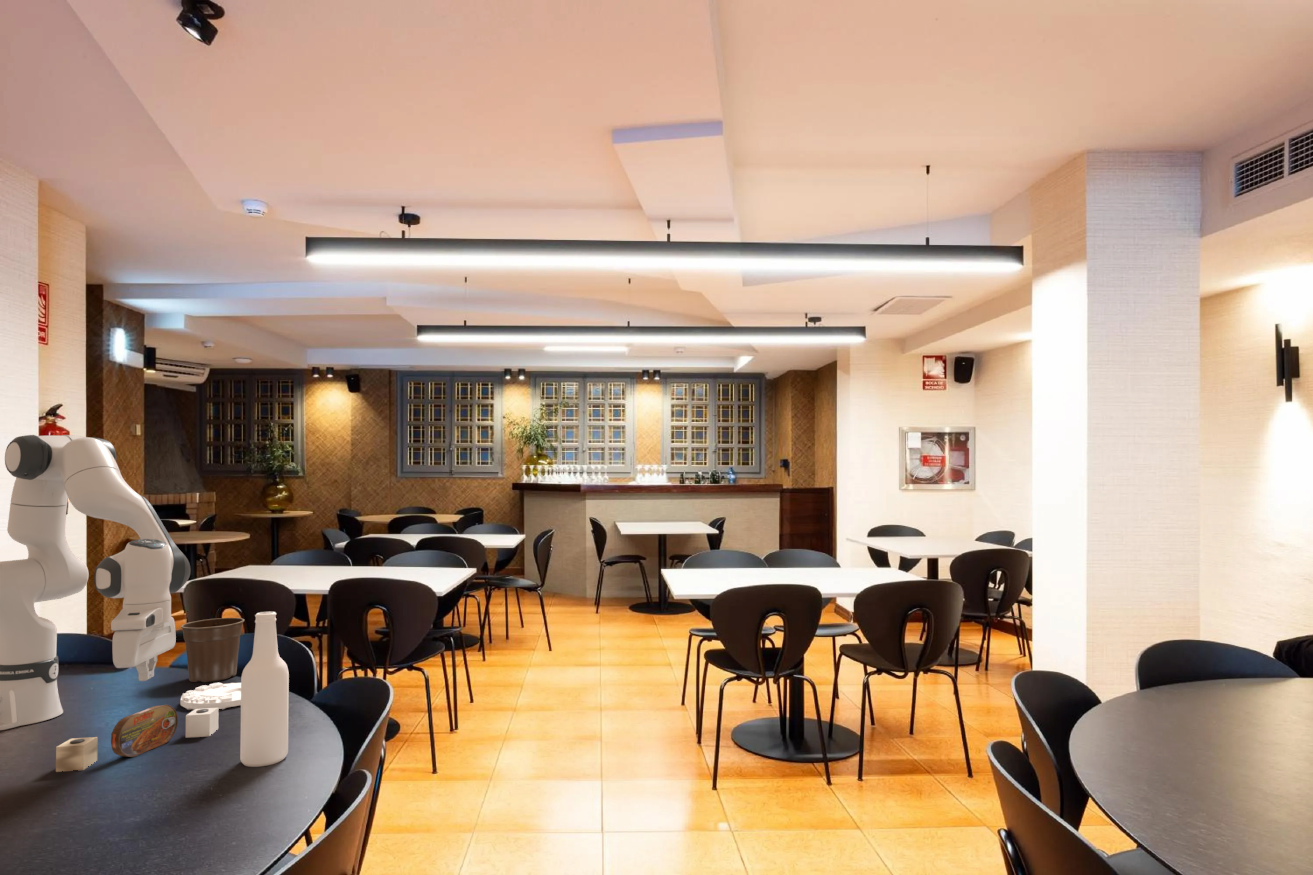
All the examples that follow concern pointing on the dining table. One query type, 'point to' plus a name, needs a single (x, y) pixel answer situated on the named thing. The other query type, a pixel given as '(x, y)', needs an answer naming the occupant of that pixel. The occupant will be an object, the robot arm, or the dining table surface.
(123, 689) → the dining table surface
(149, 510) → the robot arm
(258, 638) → the white bottle
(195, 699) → the white round plaque
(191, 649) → the plant pot
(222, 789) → the dining table surface
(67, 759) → the birch block
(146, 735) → the tin
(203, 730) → the white block
